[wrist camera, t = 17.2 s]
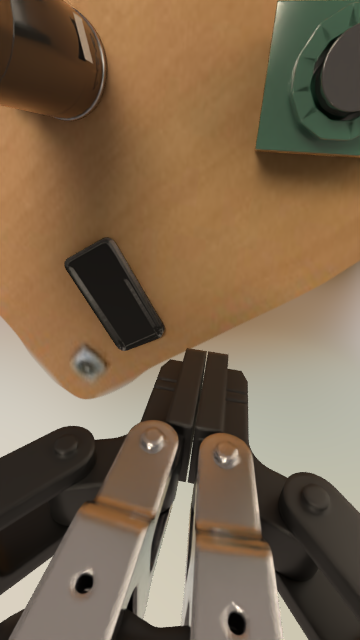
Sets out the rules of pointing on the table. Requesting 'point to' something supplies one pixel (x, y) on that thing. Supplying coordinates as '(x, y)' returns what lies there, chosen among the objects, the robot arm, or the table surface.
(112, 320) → the phone
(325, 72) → the dark push button
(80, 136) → the table surface
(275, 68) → the dispenser
